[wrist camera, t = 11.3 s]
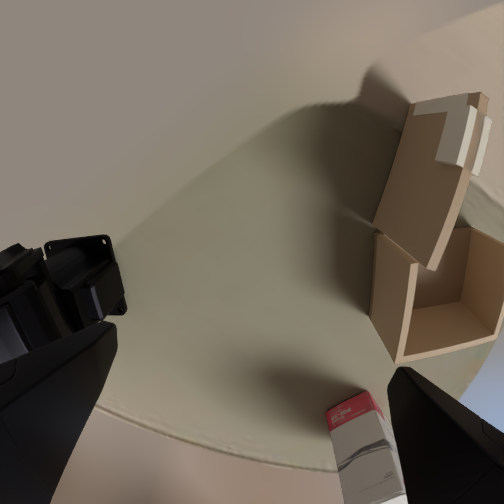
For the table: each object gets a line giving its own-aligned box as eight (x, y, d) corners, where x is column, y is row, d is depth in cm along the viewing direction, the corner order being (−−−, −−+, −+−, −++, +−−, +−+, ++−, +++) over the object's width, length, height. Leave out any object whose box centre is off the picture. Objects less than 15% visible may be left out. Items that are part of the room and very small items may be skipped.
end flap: (384, 228, 20) (441, 273, 13) (366, 222, 20) (418, 265, 13) (422, 110, 18) (494, 102, 10) (404, 101, 17) (474, 87, 10)
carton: (368, 316, 23) (394, 364, 17) (374, 232, 21) (410, 263, 15) (459, 302, 23) (496, 339, 17) (471, 227, 20) (518, 251, 15)
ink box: (322, 410, 27) (342, 516, 15) (368, 387, 26) (405, 491, 14) (354, 446, 29) (374, 532, 18) (393, 427, 28) (423, 512, 17)
